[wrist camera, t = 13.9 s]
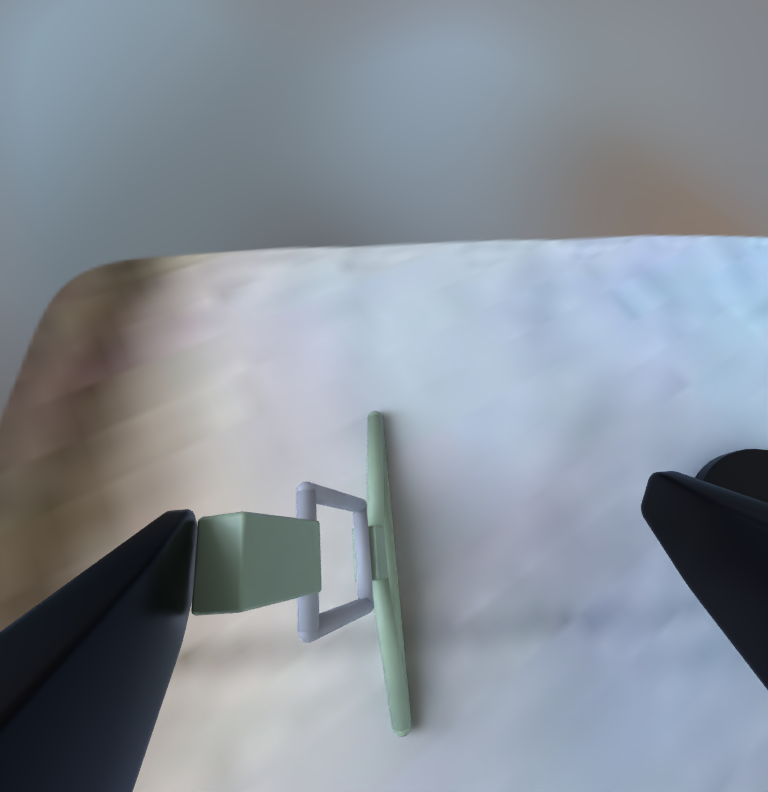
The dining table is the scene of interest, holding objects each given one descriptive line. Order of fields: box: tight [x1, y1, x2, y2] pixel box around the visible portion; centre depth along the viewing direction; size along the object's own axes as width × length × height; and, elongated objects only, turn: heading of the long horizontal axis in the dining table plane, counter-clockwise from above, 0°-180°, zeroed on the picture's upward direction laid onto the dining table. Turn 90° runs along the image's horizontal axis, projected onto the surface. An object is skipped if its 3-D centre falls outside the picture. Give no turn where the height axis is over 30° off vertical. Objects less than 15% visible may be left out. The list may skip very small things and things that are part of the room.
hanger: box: [191, 411, 411, 737], centre depth 12 cm, size 1×12×11 cm, turn 7°
